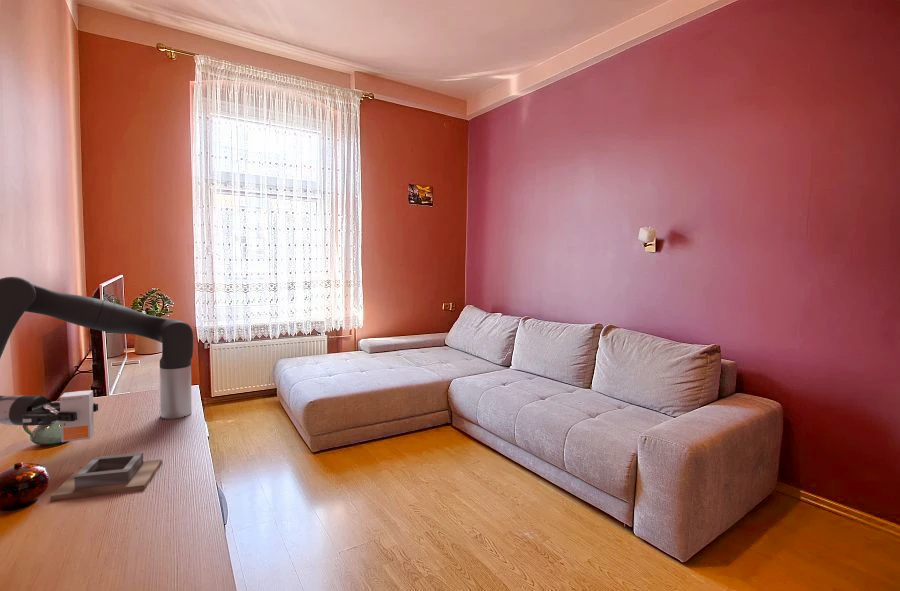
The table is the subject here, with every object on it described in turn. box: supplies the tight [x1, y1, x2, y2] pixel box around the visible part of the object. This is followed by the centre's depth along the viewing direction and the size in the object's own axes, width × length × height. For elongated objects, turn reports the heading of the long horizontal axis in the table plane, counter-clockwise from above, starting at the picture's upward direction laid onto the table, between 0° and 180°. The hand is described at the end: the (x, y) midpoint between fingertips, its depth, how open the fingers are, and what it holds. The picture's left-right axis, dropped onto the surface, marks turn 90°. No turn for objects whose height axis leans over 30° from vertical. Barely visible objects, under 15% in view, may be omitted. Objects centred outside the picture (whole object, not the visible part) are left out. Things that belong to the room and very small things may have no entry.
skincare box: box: [59, 390, 95, 443], centre depth 114 cm, size 6×4×12 cm
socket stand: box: [50, 452, 163, 502], centre depth 108 cm, size 14×18×4 cm
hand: (86, 411), depth 114 cm, fingers closed on skincare box, 6 cm apart
